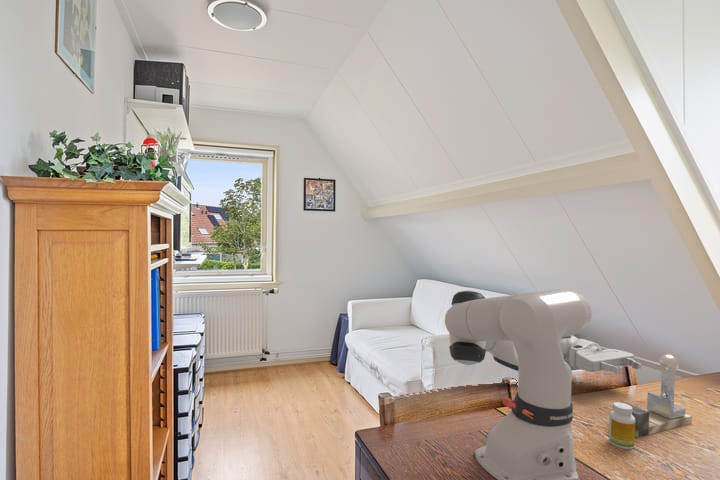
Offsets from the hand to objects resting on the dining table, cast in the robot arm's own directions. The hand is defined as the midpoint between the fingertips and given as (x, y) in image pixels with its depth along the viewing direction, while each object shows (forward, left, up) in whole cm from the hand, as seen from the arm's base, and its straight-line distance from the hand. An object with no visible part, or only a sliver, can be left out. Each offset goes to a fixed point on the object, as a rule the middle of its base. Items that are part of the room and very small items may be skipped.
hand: (629, 368), depth 121 cm
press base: (-6, -11, -11) cm, 17 cm away
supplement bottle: (-24, -15, -11) cm, 30 cm away
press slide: (0, -11, -9) cm, 14 cm away
